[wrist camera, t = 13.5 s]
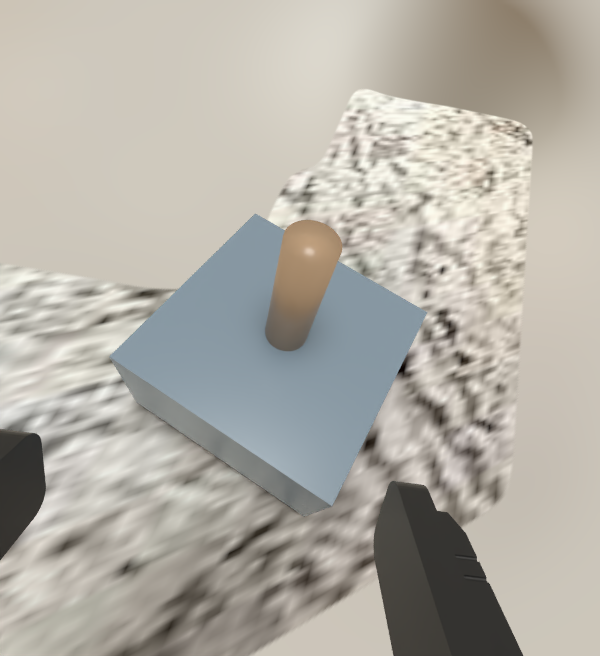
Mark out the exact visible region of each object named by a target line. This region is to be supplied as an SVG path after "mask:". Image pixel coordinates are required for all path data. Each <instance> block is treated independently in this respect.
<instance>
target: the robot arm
mask: <svg viewBox="0 0 600 656" xmlns="http://www.w3.org/2000/svg"><path fill="white" fill-rule="evenodd" d="M45 491H46V483H45V473H44V463H43V453H42V443H41V439H40V437H39V435H37V434H35V433H28V432H20V431H12V430H5V429H0V560H1V559H2V558H3V556H4V555H5V554H6V553H7V551H8V550H9V549H10V548H11V546H12V545H13V544H14V542H15V541H16V540H17V539H18V537H19V536H20V535H21V534H22V532H23V531H24V530H25V529H26V527H27V526H28V525H29V524H30V522H31V521H32V520H33V519H34V517H35V516H36V514H37V513H38V511H39V509H40V507H41V505H42V502H43V500H44V496H45ZM374 558H375V563H376V568H377V574H378V579H379V583H380V589H381V594H382V599H383V604H384V609H385V614H386V619H387V624H388V629H389V635H390V640H391V645H392V650H393V655H394V656H523V654H522V652H521V650H520V648H519V646H518V644H517V641H516V639H515V637H514V635H513V633H512V631H511V629H510V627H509V624H508V622H507V620H506V618H505V616H504V614H503V612H502V610H501V607H500V605H499V603H498V601H497V599H496V597H495V594H494V592H493V590H492V588H491V586H490V584H489V583H487V581H486V575H485V573H484V571H483V569H482V567H481V565H480V563H479V562H477V556H476V554H475V552H474V550H473V548H472V546H471V544H470V541H469V539H468V537H467V535H466V533H465V532H464V531H463V530H462V528H461V527H460V526H459V525H458V524H457V523H456V522H455V520H454V519H453V518H452V517H451V516H450V515H449V513H448V512H441V511H437V510H436V508H435V505H434V503H433V501H432V498H431V496H430V493H429V491H428V489H427V488H426V486H424V485H419V484H411V483H404V482H396V481H392V482H391V483H390V484H389V486H388V489H387V492H386V496H385V499H384V502H383V505H382V509H381V512H380V515H379V518H378V522H377V525H376V528H375V533H374Z"/></svg>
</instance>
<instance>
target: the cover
mask: <svg viewBox="0 0 600 656" xmlns="http://www.w3.org/2000/svg"><path fill="white" fill-rule="evenodd" d="M341 252H342V242H341V240H340V237H339V236H338V234H337V233H336V232H335V231H334V230H333V229H332V228H330V227H329V226H327V225H325V224H323V223H321V222H318V221H313V220H302V221H298V222H295V223H293V224H291V225H290V226H289V227H288V228H287V229H286V230H283V229H281V228H279V227H278V226H276V225H274V224H273V223H271V222H269V221H267V220H266V219H264V218H262V217H260V216H258V215H257V214H254V216H252V217H251V218H250V219H249V220H248V221H247V222H246V223H245V224H244V225H243V226H242V227H241V228H240V229H239V230H238V231H237V232H236V233H235V234H234V235H233V236H232V237H231V238H230V239H229V240H228V241H227V242H226V243H225V244H224V245H223V246H222V247H221V248H220V249H219V250H218V251H217V252H216V253H215V254H214V255H213V256H212V257H211V258H210V259H209V260H208V261H207V262H206V263H204V265H202V266H201V268H199V269H198V270H197V271H196V272H195V273H194V274H193V275H192V276H191V277H190V278H189V279H188V280H187V281H186V282H185V283H184V284H183V285H182V286H181V287H180V288H179V289H178V290H177V291H176V292H175V293H174V294H173V295H172V296H171V297H170V298H169V299H168V300H167V301H166V302H165V303H164V304H163V305H162V306H161V307H160V308H159V309H158V310H156V311H155V312H154V313H153V314H152V315H151V316H150V317H149V318H148V319H147V320H146V321H145V322H144V323H143V324H142V325H141V326H140V327H139V328H138V329H137V330H136V331H135V332H134V333H133V334H132V335H131V336H130V337H129V338H128V339H127V340H126V341H125V342H124V343H123V344H122V345H121V346H120V347H119V348H118V349H117V350H116V351H115V352H114V353H113V354H112V355H111V356H110V359H111V360H112V362H113V364H114V365H115V367H116V369H117V370H118V372H119V374H120V375H121V377H122V379H123V380H124V382H125V384H126V385H127V387H128V389H129V390H130V392H131V394H132V395H133V397H134V399H135V400H136V402H137V403H139V404H140V405H141V406H143V407H144V408H146V409H147V410H149V411H150V412H152V413H153V414H155V415H156V416H158V417H159V418H160V419H162V420H163V421H165V422H166V423H168V424H169V425H171V426H172V427H174V428H175V429H177V430H178V431H180V432H181V433H182V434H184V435H185V436H187V437H188V438H190V439H191V440H193V441H194V442H196V443H197V444H199V445H200V446H202V447H203V448H204V449H206V450H207V451H209V452H210V453H212V454H213V455H215V456H216V457H218V458H219V459H221V460H222V461H223V462H225V463H226V464H228V465H229V466H231V467H232V468H234V469H235V470H237V471H238V472H240V473H241V474H243V475H244V476H245V477H247V478H248V479H250V480H251V481H253V482H254V483H256V484H257V485H259V486H260V487H262V488H263V489H265V490H266V491H267V492H269V493H270V494H272V495H273V496H275V497H276V498H278V499H279V500H281V501H282V502H284V503H285V504H286V505H288V506H289V507H291V508H292V509H294V510H295V511H297V512H298V513H300V514H301V515H303V516H307V515H310V514H312V513H315V512H318V511H320V510H323V509H326V508H329V507H331V506H332V505H333V503H334V501H335V499H336V497H337V495H338V493H339V491H340V489H341V487H342V485H343V483H344V481H345V479H346V477H347V475H348V473H349V471H350V469H351V467H352V465H353V463H354V461H355V458H356V456H357V454H358V452H359V450H360V448H361V446H362V444H363V442H364V440H365V438H366V436H367V434H368V432H369V430H370V428H371V426H372V424H373V422H374V420H375V418H376V416H377V414H378V412H379V410H380V408H381V406H382V404H383V401H384V399H385V397H386V395H387V393H388V391H389V389H390V387H391V385H392V383H393V381H394V379H395V377H396V375H397V373H398V371H399V369H400V367H401V365H402V363H403V361H404V359H405V357H406V355H407V353H408V351H409V349H410V347H411V345H412V342H413V340H414V338H415V336H416V334H417V332H418V330H419V328H420V326H421V324H422V322H423V320H424V318H425V316H426V314H427V312H425V311H424V310H422V309H420V308H418V307H417V306H415V305H413V304H412V303H410V302H408V301H406V300H405V299H403V298H401V297H399V296H398V295H396V294H394V293H392V292H391V291H389V290H387V289H385V288H384V287H382V286H380V285H379V284H377V283H375V282H373V281H372V280H370V279H368V278H366V277H365V276H363V275H361V274H359V273H358V272H356V271H354V270H352V269H351V268H349V267H347V266H345V265H344V264H342V263H340V262H339V261H338V260H339V257H340V255H341Z"/></svg>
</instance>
